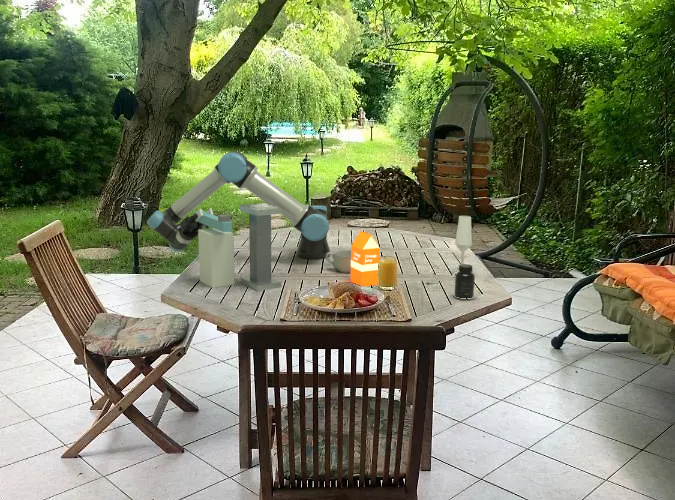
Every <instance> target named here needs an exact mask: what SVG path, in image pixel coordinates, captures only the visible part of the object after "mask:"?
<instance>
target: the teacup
mask: <svg viewBox="0 0 675 500" xmlns="http://www.w3.org/2000/svg"><path fill="white" fill-rule="evenodd" d="M328 255H330V256H331V257H332V259H333V260H331V259H330V258H329V257H328ZM325 260H326V261H327V262H328V263H329V264H331V265H332V266H333V267H334V268H335V269H336V270H337V271H338V272H340V273H345V274H349V273H350V274H351V249H347V248H346V249H337V250H335V251H334V252H331V251H330V252H328V253H327V254H326V258H325Z"/></svg>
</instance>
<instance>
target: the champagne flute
mask: <svg viewBox="0 0 675 500" xmlns="http://www.w3.org/2000/svg"><path fill="white" fill-rule="evenodd" d="M457 222H458V223H457V230H456V236H455V242H454V244H455V246H456V247H457V249H458V250H459V251H460V252H461V253H460V265H461V264H465V252H466V251H467V250H468V249H470V248H471V246H472V245H473V238H472V237H473V236H472V217H471V216H469V215H459V216H458V221H457ZM457 272H459V269H458V270H457V271H455V272H454V273H457Z"/></svg>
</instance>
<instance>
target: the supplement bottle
mask: <svg viewBox="0 0 675 500" xmlns="http://www.w3.org/2000/svg"><path fill="white" fill-rule="evenodd" d="M458 270H459V272H457V273H456V275H454V276H455V277H454V279H455V280H454V295H455V296H456V297H459V298H472V297H473V298H474V294H475V293H474V292H475V278H476V277H475V274H474V273H473V265H471V264H468V263H467V264H466V263H464V264H461V263H460V264H459V265H458ZM454 295H453V296H454ZM455 296H454V297H455ZM473 298H472V299H473Z"/></svg>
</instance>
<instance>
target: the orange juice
mask: <svg viewBox="0 0 675 500" xmlns="http://www.w3.org/2000/svg"><path fill="white" fill-rule="evenodd" d="M350 250H351V272H350V282H351V283H353V284H355V283H356V284H355V285H357V284H359V285H363V286H364V287H370V286H371V285H372V286H379V277H378V276H377V275H378V263H379V264H380V247H379V245H378V243H377V241H376V239H375V238H374V237H373V235H372V234H371V233H368V232H366V231H362V230H360V231H359V233H357V236H356V237H355V239H354V241H353V243H352V244H351V245H350ZM359 285H358V286H359ZM372 286H371V287H372Z"/></svg>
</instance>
